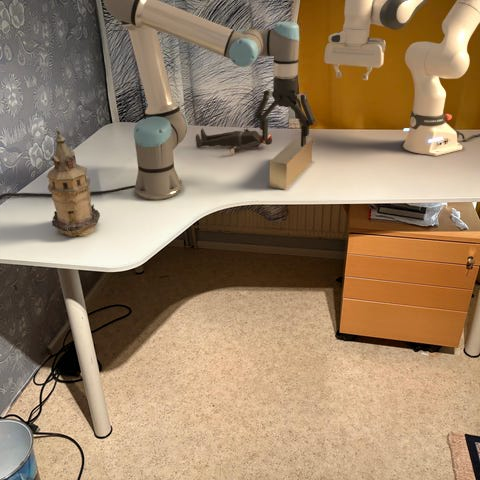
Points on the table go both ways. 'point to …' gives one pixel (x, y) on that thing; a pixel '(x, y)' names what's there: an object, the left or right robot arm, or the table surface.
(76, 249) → the table surface
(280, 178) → the box
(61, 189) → the miniature building
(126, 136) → the table surface
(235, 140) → the toy
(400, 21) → the right robot arm
